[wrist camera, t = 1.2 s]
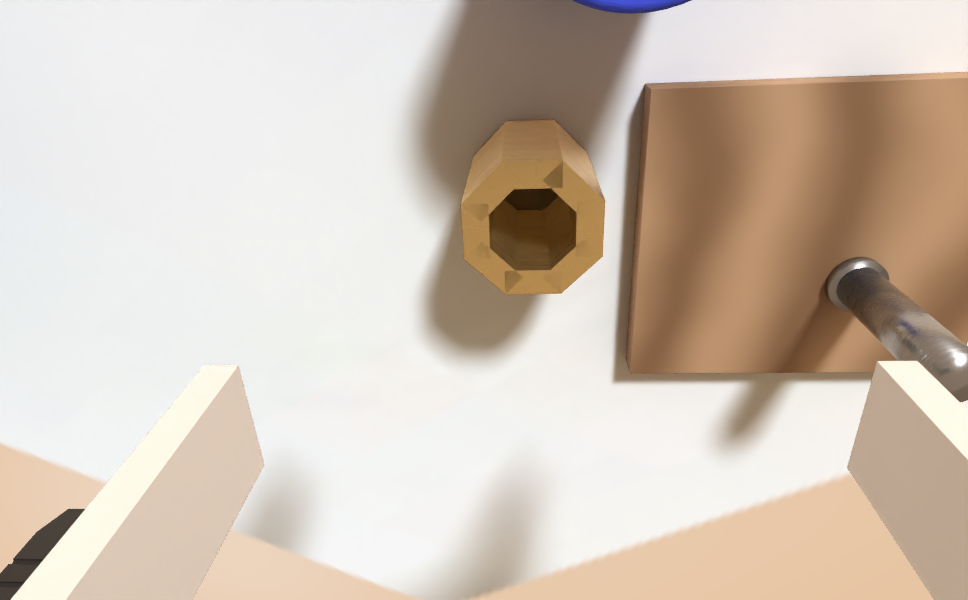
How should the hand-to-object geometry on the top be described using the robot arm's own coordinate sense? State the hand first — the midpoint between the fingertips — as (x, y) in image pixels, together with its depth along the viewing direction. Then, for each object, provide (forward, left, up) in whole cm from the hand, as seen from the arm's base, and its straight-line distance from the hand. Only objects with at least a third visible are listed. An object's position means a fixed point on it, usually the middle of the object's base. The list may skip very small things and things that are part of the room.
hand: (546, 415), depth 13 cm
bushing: (0, 0, -18) cm, 18 cm away
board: (+13, -3, -18) cm, 22 cm away
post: (+15, -5, -17) cm, 23 cm away
